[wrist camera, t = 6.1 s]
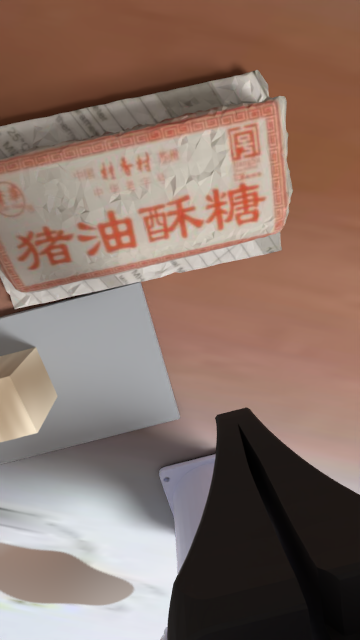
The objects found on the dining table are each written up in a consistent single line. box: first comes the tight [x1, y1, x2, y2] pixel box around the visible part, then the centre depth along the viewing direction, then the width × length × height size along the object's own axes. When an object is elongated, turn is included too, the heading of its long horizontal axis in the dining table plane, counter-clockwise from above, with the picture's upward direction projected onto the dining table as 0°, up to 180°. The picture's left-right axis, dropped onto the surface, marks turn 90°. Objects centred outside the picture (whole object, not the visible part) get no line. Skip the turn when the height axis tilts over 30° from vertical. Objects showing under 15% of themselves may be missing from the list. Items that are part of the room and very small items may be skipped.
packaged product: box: [0, 70, 293, 309], centre depth 17 cm, size 18×5×10 cm
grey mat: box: [0, 282, 180, 465], centre depth 22 cm, size 11×22×1 cm, turn 104°
